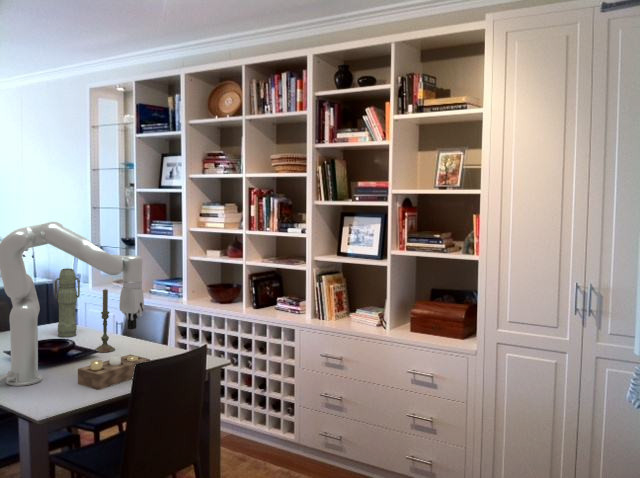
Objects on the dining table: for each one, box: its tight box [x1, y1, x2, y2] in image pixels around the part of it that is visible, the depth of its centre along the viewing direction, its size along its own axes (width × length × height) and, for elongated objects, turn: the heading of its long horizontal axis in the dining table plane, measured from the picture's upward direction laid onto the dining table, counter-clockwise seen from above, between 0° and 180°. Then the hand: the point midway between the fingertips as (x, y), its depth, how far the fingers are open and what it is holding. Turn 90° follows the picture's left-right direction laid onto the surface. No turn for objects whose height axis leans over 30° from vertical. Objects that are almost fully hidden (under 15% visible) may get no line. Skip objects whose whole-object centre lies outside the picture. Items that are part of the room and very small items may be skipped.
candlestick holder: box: [94, 288, 116, 354], centre depth 272 cm, size 9×9×30 cm
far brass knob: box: [127, 355, 138, 361], centre depth 240 cm, size 4×4×6 cm
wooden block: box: [77, 353, 151, 391], centre depth 233 cm, size 26×12×6 cm, turn 150°
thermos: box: [54, 267, 81, 339], centre depth 297 cm, size 9×12×35 cm
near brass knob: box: [90, 359, 104, 372], centre depth 225 cm, size 4×4×6 cm
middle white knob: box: [108, 354, 122, 366], centre depth 233 cm, size 4×4×6 cm
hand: (131, 328), depth 239 cm, fingers closed
